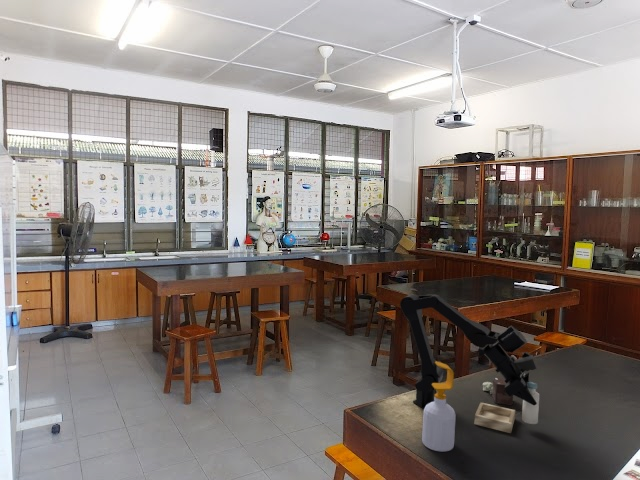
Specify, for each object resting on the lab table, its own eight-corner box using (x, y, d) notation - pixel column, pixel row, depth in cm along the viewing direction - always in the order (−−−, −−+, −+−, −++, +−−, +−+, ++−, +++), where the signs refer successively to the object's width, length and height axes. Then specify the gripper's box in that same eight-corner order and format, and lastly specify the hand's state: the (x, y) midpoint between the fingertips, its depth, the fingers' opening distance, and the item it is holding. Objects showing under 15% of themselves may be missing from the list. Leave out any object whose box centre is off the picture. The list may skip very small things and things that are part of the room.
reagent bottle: (531, 425, 140) (533, 387, 139) (518, 418, 144) (520, 382, 143) (541, 422, 142) (543, 385, 141) (528, 416, 146) (530, 380, 145)
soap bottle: (418, 436, 137) (422, 357, 135) (447, 435, 138) (451, 357, 136) (427, 452, 128) (431, 368, 126) (458, 452, 129) (463, 368, 127)
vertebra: (490, 397, 166) (490, 387, 166) (477, 392, 173) (477, 382, 173) (504, 394, 169) (503, 384, 169) (491, 389, 175) (490, 379, 175)
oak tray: (474, 424, 146) (474, 415, 145) (480, 410, 155) (480, 402, 155) (510, 433, 140) (511, 424, 140) (514, 418, 150) (515, 410, 150)
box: (512, 405, 160) (514, 385, 160) (494, 403, 161) (496, 383, 161) (509, 398, 166) (510, 379, 165) (491, 396, 167) (493, 377, 167)
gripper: (518, 355, 134) (557, 399, 130) (524, 339, 151) (558, 378, 146) (489, 374, 139) (525, 418, 134) (497, 357, 155) (530, 395, 151)
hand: (536, 401), depth 141 cm, fingers closed on reagent bottle, 5 cm apart
